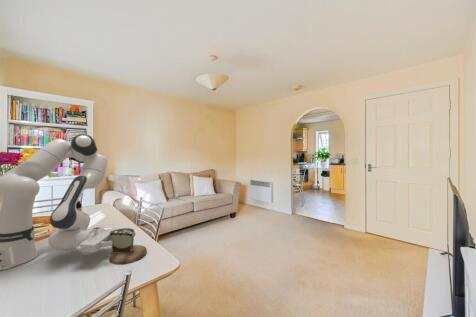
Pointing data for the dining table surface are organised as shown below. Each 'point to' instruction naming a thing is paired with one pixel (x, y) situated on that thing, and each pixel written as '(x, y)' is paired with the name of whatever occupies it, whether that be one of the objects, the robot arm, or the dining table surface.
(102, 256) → the dining table surface
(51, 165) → the robot arm
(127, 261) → the walnut trivet
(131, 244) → the food container
